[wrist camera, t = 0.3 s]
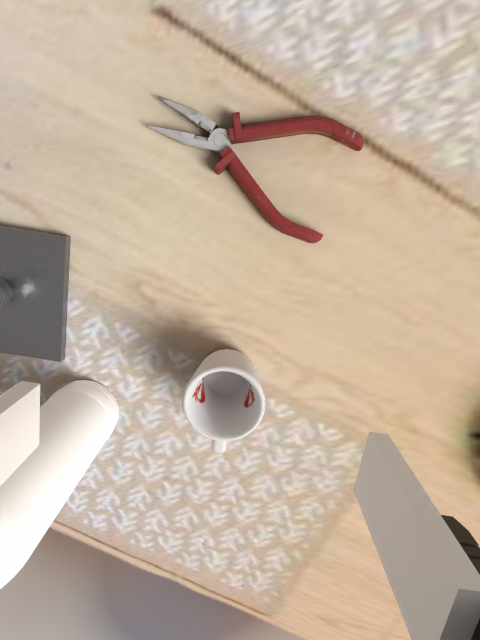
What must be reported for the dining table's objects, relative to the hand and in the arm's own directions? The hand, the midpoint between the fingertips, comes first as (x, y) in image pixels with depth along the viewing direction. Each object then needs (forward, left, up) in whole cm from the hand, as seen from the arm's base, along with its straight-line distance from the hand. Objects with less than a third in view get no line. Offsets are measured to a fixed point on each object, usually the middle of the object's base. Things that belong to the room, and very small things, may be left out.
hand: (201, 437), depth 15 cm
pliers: (-16, +1, -28) cm, 32 cm away
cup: (+10, +1, -28) cm, 29 cm away
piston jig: (+3, -25, -27) cm, 37 cm away
